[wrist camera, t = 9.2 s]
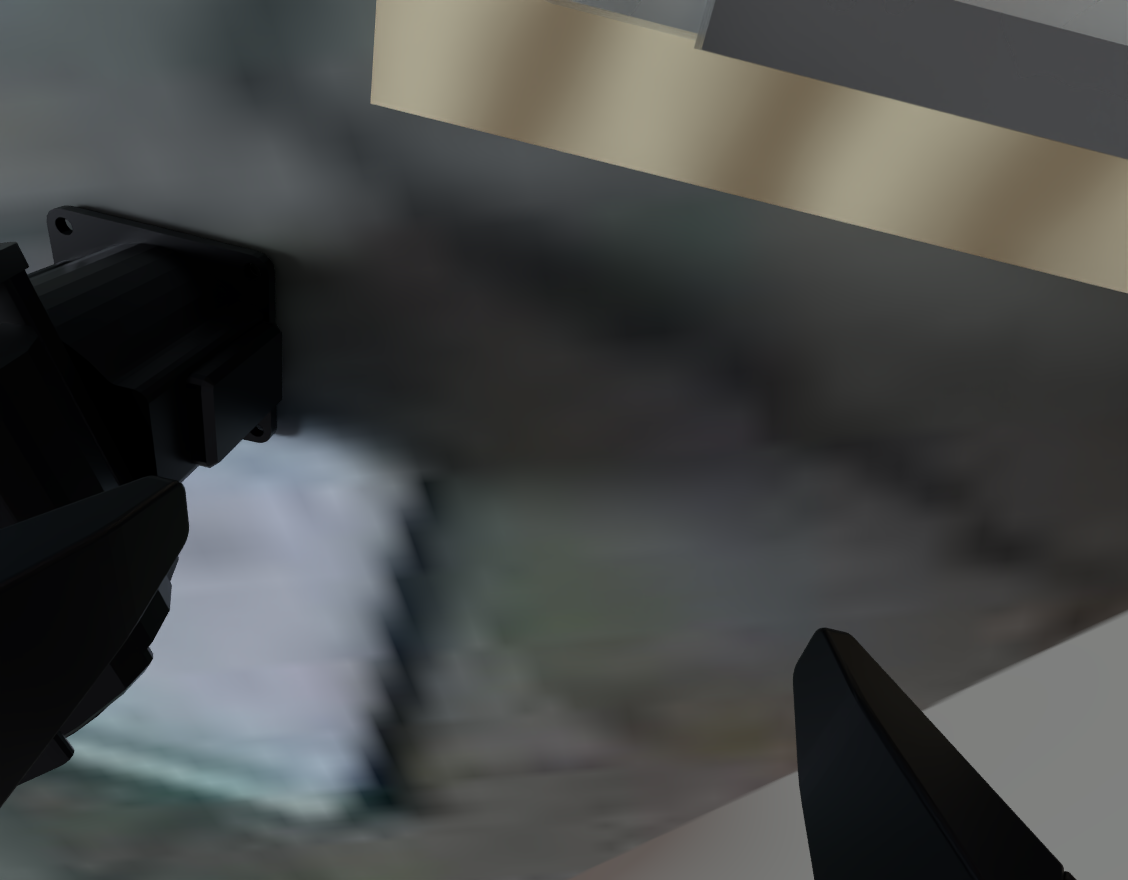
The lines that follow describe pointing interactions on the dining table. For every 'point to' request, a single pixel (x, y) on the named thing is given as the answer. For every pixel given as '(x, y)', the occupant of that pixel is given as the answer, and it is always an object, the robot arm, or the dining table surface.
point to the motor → (929, 54)
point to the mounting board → (753, 132)
